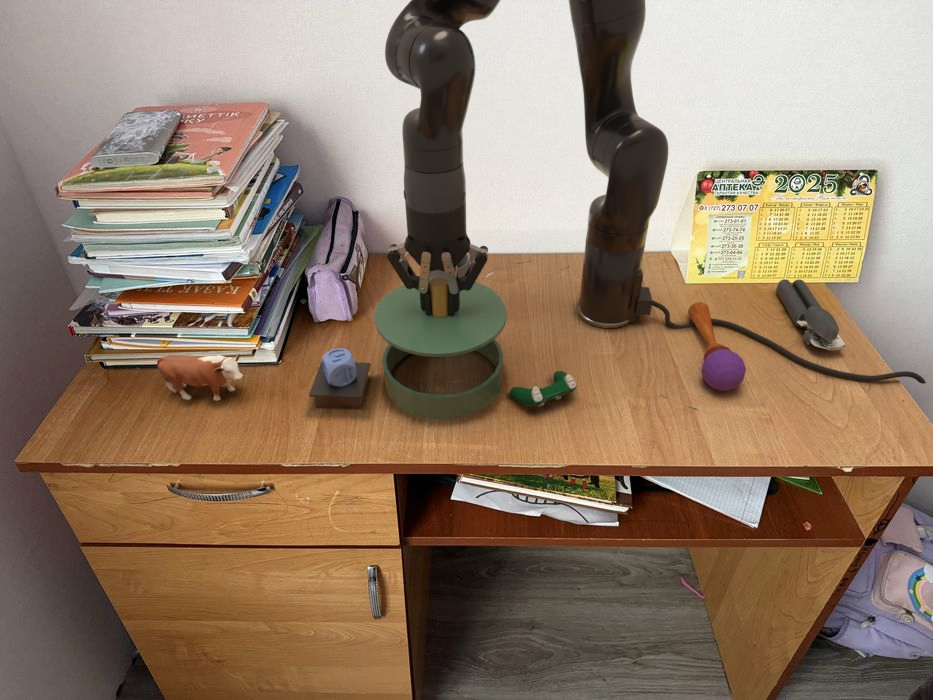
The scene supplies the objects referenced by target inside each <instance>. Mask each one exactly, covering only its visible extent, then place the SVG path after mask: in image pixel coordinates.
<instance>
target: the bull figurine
mask: <svg viewBox="0 0 933 700" xmlns="http://www.w3.org/2000/svg"><path fill="white" fill-rule="evenodd" d="M240 357H241V353H238V354H236V355H235V356H234V358H233V357H229V356H228V357H226V356H224V355H221V354H220V355H219V354H216V355H185V354H169V355H164V356H160V357H159V358H158V359H157V361H156V367H157V370H158V371H159V374H160V375H161V377H162V378H163V380H164V382H165V385H166V386H167V388H168V389H169V390H170V391H171V392H173V393H175V394H176V393H177V392H178V393H179V394H180V396H181V397H182V399H183V400H186V401H187V400H188V401H189V400H191V399H192V398H193V396H192V395H190V394H188V393H187V392H186V391H185V390H184V388H186V387H187V385H189V386H191V387H203V386H209V387H210V389H211V391H212V393H213V399H212V400H213V401H216V402H217V401H220V400H221V398H222V397H221V396H220V388H221V387H222V388H223V387H226V388H227V391H229V392H234V391H235V390H236V388H235V387H234V386H233V385H232V384H231V383H232V382H233V381H234V382H236V383H237V382H240V381H242V380H243V379H244V378H245V377H244V374H242V373H241V371H240V369H239V364H238V363H239V362H238V361H239V360H240Z"/></svg>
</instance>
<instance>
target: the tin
mask: <svg viewBox="0 0 933 700" xmlns="http://www.w3.org/2000/svg"><path fill="white" fill-rule="evenodd" d="M474 352H477V353H480V354H481V355H483V356H484V357H485V358H486V359H488V360H489V361H490V363H492V365H493V366H494V367H495V370H494V372H493V373H492V374H491V375H490V376H489V377H488V378H487V380H485V381H484V382H481V383H480V384H479V385H477V386H475V387H473V388H470V389H467V390H464V391H461V392H454V393H447V394H436V393H435V394H433V393H426V392H421V391H417V390H414V389H411V388H410V387H407V386H405V385H403V384H402V383H400V382H399V381H398V380H397V379H395V378H394V377H393V374H392V372H393V370H394V369H395V367H396V366H397V365H398V364H399V363H400V362H401V361H402V360H403V359H404V358H405V357H407V356H409V355H410V354H411V353H407V352H405V351H402V350H399V349H397V348H395V347H393V346H392V345H390V344H389V343H388V345H387V346H386V348H385V349H384V351H383V356H382V359H381V363H382V372H383V378H384V386H385V392H386V394H387V396H388V397H389V399H390V401H391V402H392V404H394V405H395V406H397V408H399V410H401V411H403V412H405V413H407V414H409V415H412V416H415V417H418V418H422V419H427V420H434V421H435V420H436V421H438V420H439V421H449V420H455V419H456V420H457V419H463V418H465V417H468V416H471V415H474V414H477V413H480V411H482V410H483V409H485V408H486V407H488V406H490V405H491V404H492V403H493V402H494V400H496V398H497V397H499V396H500V394H501V392H502V389H503V381H504V379H503V378H504V377H503V376H504V368H503V367H504V352H503V350H502V346H501V345H500V342H498V341H497V339H496V338H495V339H494V340H493V341H491V342H490V343H488V344H487V345H485V346H483V347H481V348H479V349H477V350H474Z"/></svg>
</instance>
